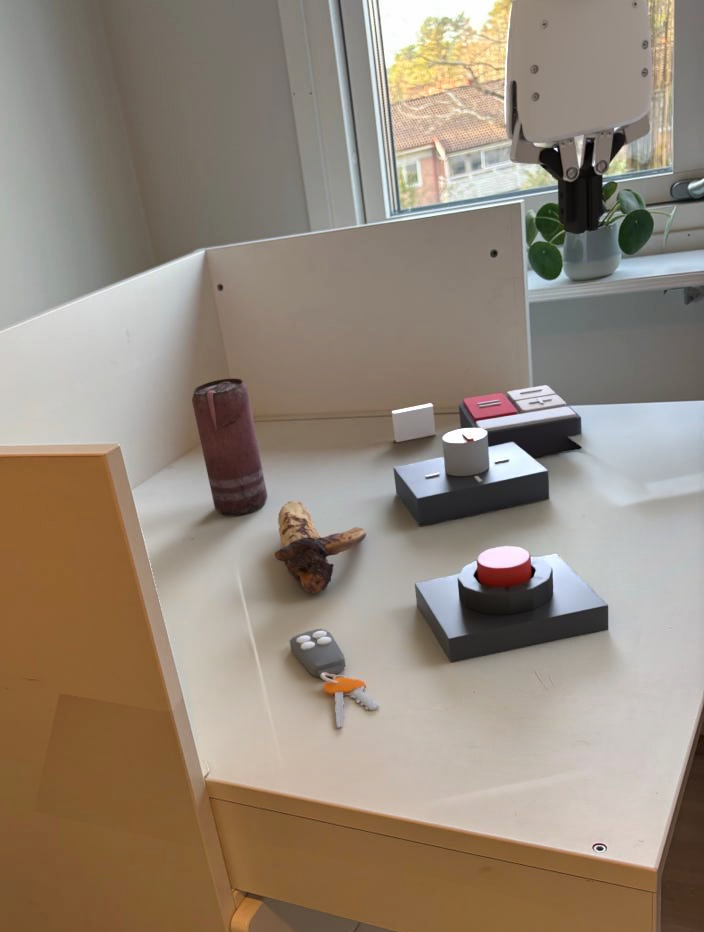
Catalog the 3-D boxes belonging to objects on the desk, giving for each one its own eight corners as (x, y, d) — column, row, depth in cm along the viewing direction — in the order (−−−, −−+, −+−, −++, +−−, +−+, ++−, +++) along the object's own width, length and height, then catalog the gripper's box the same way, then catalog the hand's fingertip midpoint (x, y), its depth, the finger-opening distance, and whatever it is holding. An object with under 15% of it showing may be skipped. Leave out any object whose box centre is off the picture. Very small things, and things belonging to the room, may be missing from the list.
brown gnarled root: (386, 591, 85) (354, 514, 101) (383, 543, 83) (350, 472, 98) (283, 608, 86) (266, 528, 101) (276, 560, 83) (260, 487, 99)
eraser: (435, 434, 118) (433, 405, 116) (396, 442, 118) (393, 413, 116) (433, 431, 119) (430, 402, 117) (394, 439, 119) (391, 411, 118)
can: (211, 520, 107) (185, 398, 101) (219, 499, 113) (195, 381, 106) (265, 513, 106) (241, 388, 99) (270, 492, 111) (248, 373, 105)
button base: (557, 576, 81) (555, 533, 79) (608, 630, 72) (608, 583, 70) (416, 606, 81) (412, 563, 79) (451, 663, 72) (446, 617, 70)
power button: (520, 561, 76) (519, 541, 76) (539, 582, 73) (538, 561, 72) (471, 572, 76) (469, 552, 76) (487, 593, 73) (486, 572, 72)
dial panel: (514, 468, 103) (513, 440, 102) (549, 499, 95) (548, 468, 93) (396, 493, 104) (392, 465, 102) (420, 526, 95) (417, 497, 93)
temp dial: (440, 466, 100) (436, 431, 98) (481, 457, 100) (479, 421, 98) (452, 479, 96) (449, 443, 94) (495, 470, 96) (493, 433, 94)
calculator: (550, 381, 115) (581, 410, 102) (551, 416, 117) (583, 449, 104) (457, 397, 117) (476, 427, 104) (460, 431, 119) (479, 465, 105)
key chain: (285, 650, 79) (283, 635, 78) (328, 638, 79) (326, 622, 78) (338, 731, 67) (335, 714, 67) (387, 716, 68) (385, 699, 67)
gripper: (653, -52, 73) (649, 208, 82) (460, -8, 73) (476, 245, 82) (704, -70, 66) (694, 214, 75) (492, -22, 67) (506, 255, 75)
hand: (580, 230), depth 78 cm, fingers closed
